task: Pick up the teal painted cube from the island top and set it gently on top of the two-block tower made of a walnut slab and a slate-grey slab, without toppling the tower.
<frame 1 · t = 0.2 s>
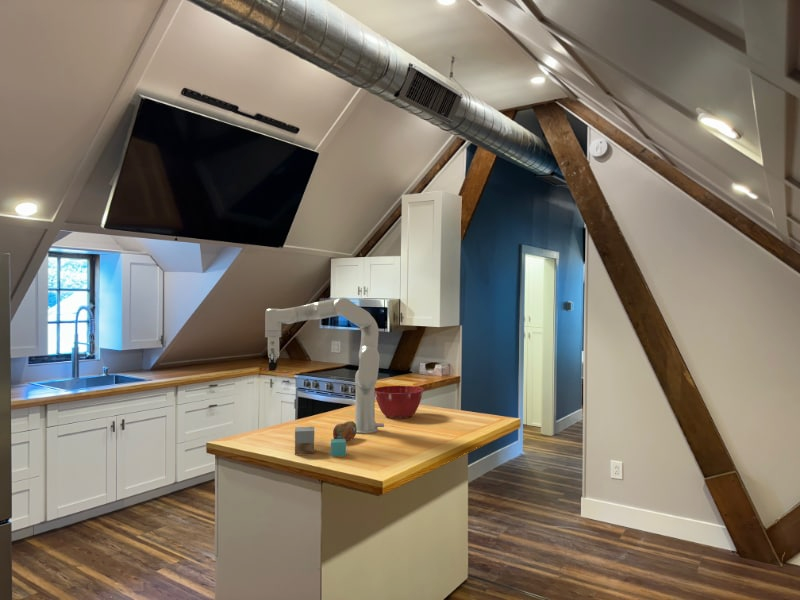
hand: (273, 369, 273), 31 cm above the countertop, tool pointing down, fingers open, 9 cm apart
teal cube: (338, 455, 236), on the countertop
tower base: (304, 452, 240), on the countertop, touching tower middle
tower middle: (304, 440, 240), point 5 cm above the countertop, touching tower base
mixing bowl: (398, 416, 317), on the countertop
tin: (344, 441, 261), on the countertop
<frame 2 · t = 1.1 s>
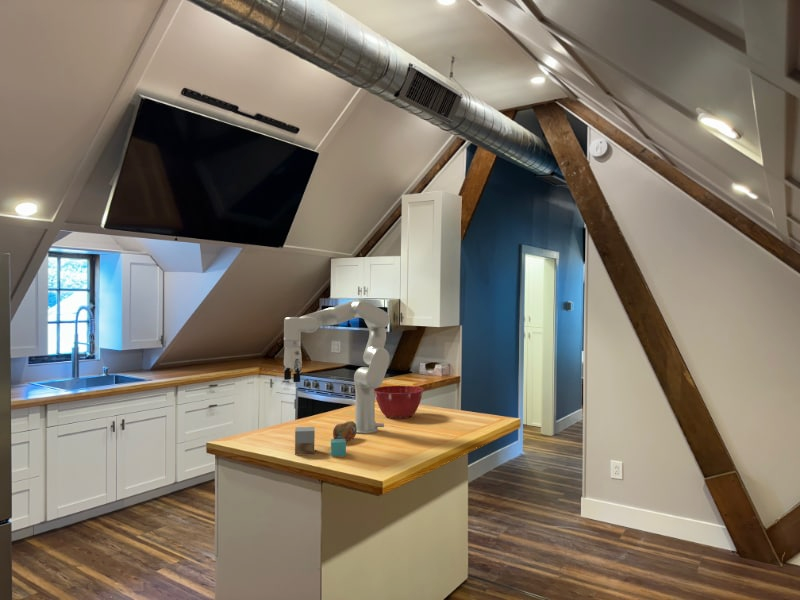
hand: (292, 380, 261), 27 cm above the countertop, tool pointing down, fingers open, 9 cm apart
nothing on the countertop moved.
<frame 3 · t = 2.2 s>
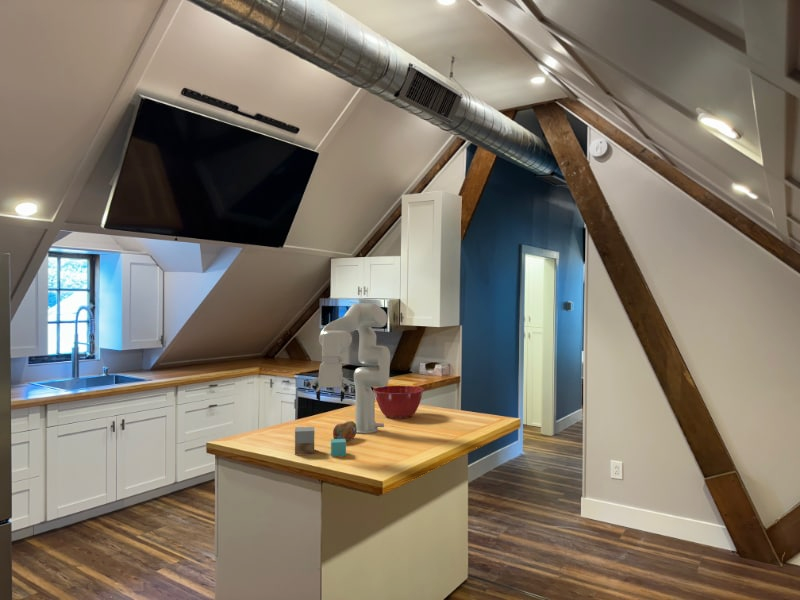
hand: (330, 400, 240), 22 cm above the countertop, tool pointing down, fingers open, 9 cm apart
tower base: (304, 452, 240), on the countertop
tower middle: (304, 440, 240), point 5 cm above the countertop
everything else where it was.
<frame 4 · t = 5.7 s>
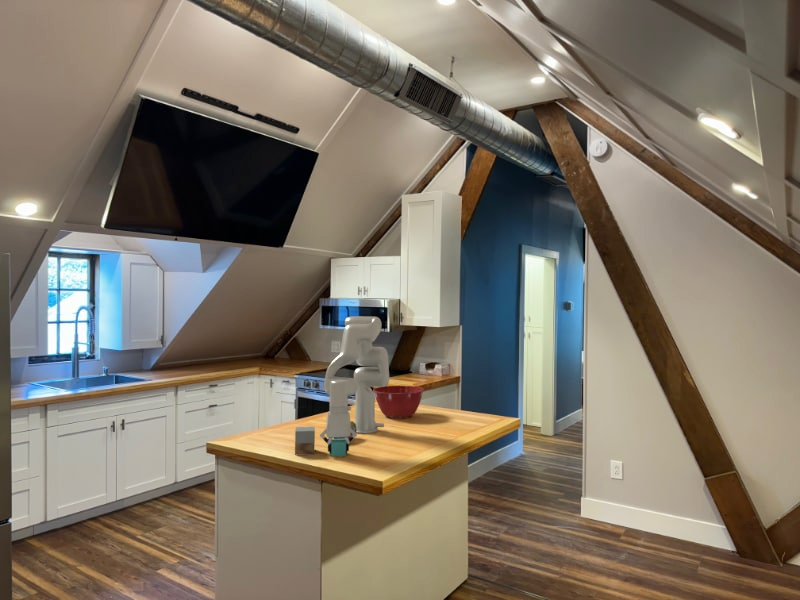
hand: (338, 452, 236), 1 cm above the countertop, tool pointing down, fingers closed on teal cube, 6 cm apart
teal cube: (338, 454, 236), on the countertop, touching gripper
tower base: (304, 452, 240), on the countertop, touching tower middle
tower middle: (305, 440, 240), point 5 cm above the countertop, touching tower base
everything else where it was.
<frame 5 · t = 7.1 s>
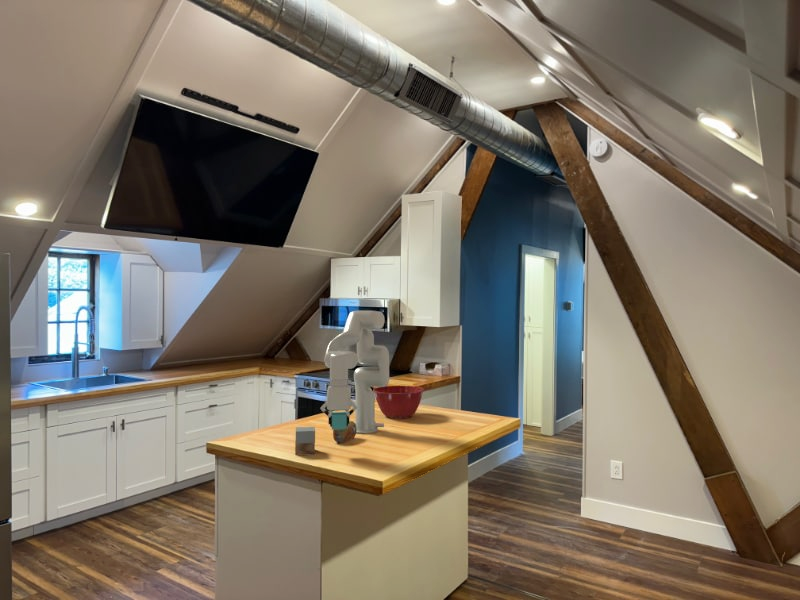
hand: (338, 425, 237), 12 cm above the countertop, tool pointing down, fingers closed on teal cube, 6 cm apart
teal cube: (338, 427, 237), point 11 cm above the countertop, touching gripper
everything else where it was.
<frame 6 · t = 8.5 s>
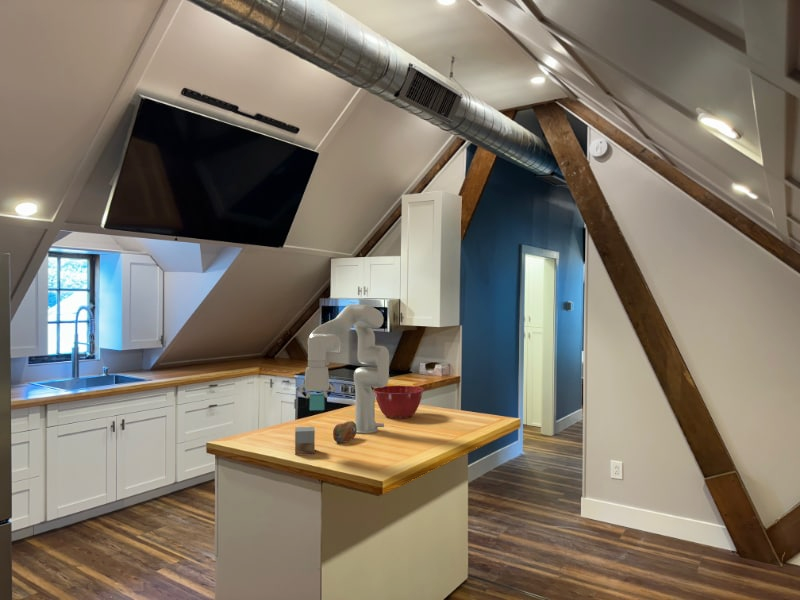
hand: (316, 406, 239), 20 cm above the countertop, tool pointing down, fingers closed on teal cube, 6 cm apart
teal cube: (316, 408, 239), point 19 cm above the countertop, touching gripper
everything else where it was.
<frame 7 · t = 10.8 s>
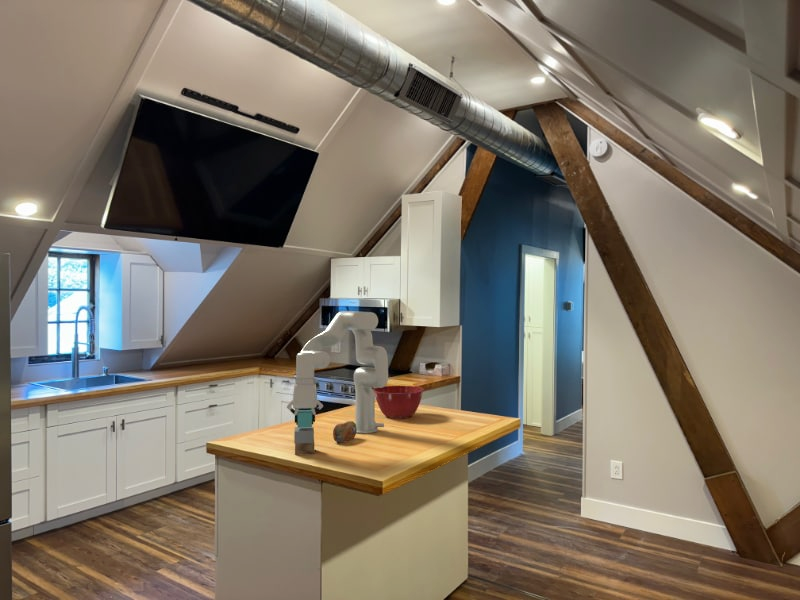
hand: (304, 423, 240), 12 cm above the countertop, tool pointing down, fingers closed on teal cube, 5 cm apart
teal cube: (304, 425, 240), point 11 cm above the countertop, touching gripper
tower base: (304, 452, 240), on the countertop
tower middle: (304, 440, 240), point 5 cm above the countertop
everything else where it was.
when the fingers open (12 cm above the countertop, at t = 11.1 s): teal cube drops 1 cm, resting on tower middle.
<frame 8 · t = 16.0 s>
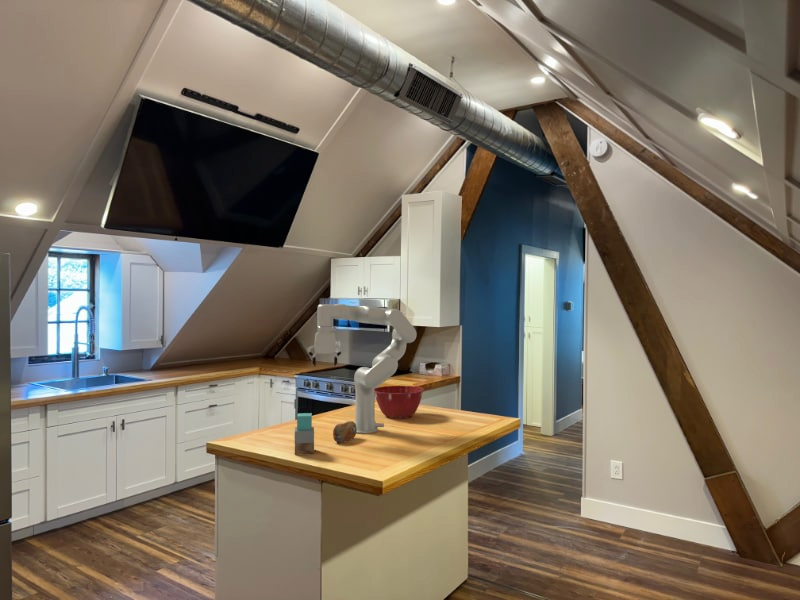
hand: (324, 365, 271), 33 cm above the countertop, tool pointing down, fingers open, 9 cm apart
teal cube: (304, 428, 240), point 10 cm above the countertop, touching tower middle
tower base: (304, 452, 240), on the countertop, touching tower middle
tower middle: (304, 440, 240), point 5 cm above the countertop, touching teal cube, tower base
everything else where it was.
at the end: teal cube 0.1 cm off-centre on the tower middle, point 5.0 cm above the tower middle's base; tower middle 0.1 cm off-centre on the tower base, point 5.0 cm above the tower base's base; the gripper is holding nothing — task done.
